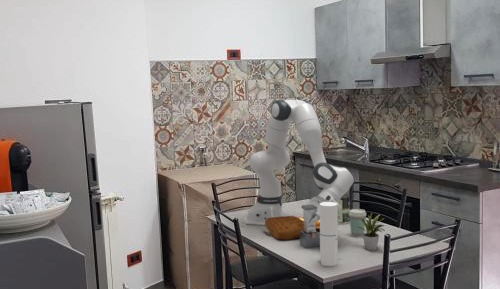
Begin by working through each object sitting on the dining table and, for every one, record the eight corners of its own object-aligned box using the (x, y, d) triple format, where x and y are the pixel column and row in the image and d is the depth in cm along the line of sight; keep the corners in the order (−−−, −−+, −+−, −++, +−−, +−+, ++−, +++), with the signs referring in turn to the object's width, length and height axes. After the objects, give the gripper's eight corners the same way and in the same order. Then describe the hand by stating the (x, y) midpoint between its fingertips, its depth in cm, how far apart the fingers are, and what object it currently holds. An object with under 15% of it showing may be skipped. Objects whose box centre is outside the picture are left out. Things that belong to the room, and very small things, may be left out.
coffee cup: (366, 237, 241) (366, 213, 239) (348, 237, 243) (348, 212, 241) (366, 232, 249) (366, 208, 248) (348, 232, 251) (348, 208, 249)
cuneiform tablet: (263, 231, 255) (263, 216, 254) (295, 228, 260) (295, 213, 259) (277, 244, 234) (277, 227, 233) (312, 240, 239) (311, 224, 238)
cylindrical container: (316, 262, 209) (316, 203, 206) (329, 259, 213) (329, 201, 210) (328, 267, 203) (327, 206, 200) (341, 263, 207) (341, 204, 204)
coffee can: (348, 218, 275) (348, 193, 274) (351, 223, 265) (351, 197, 263) (329, 219, 276) (329, 193, 274) (332, 224, 265) (331, 198, 264)
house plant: (356, 254, 218) (356, 217, 216) (349, 244, 231) (349, 209, 230) (389, 253, 218) (389, 216, 216) (380, 243, 232) (380, 208, 230)
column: (306, 247, 225) (306, 208, 222) (302, 244, 230) (301, 205, 227) (317, 246, 226) (317, 206, 224) (312, 243, 231) (312, 204, 229)
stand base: (303, 253, 220) (302, 236, 220) (292, 245, 232) (292, 228, 231) (327, 250, 224) (327, 232, 223) (316, 242, 235) (315, 226, 235)
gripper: (313, 190, 237) (294, 212, 235) (333, 199, 218) (313, 224, 216) (321, 198, 239) (303, 221, 237) (342, 208, 220) (322, 232, 218)
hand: (308, 222), depth 226 cm, fingers closed on column, 4 cm apart
